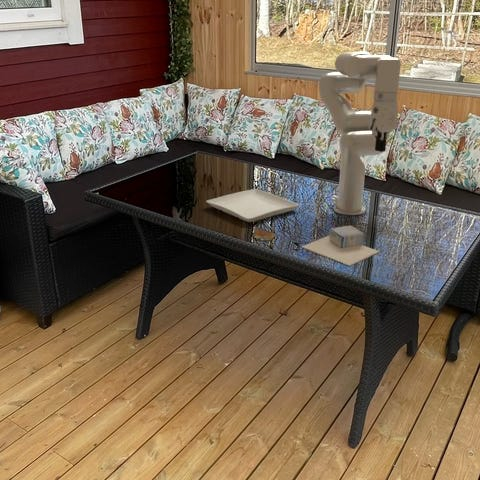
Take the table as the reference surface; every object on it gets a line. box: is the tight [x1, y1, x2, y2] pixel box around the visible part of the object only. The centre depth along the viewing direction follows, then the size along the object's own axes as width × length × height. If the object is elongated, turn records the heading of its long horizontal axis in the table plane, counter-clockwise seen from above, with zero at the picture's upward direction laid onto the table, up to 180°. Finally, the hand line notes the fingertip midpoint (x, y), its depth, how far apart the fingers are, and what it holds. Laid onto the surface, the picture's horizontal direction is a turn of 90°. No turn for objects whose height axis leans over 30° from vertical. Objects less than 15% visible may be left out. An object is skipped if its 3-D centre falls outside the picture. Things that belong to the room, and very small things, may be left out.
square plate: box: [205, 188, 300, 223], centre depth 220 cm, size 27×27×4 cm
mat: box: [301, 234, 380, 267], centre depth 184 cm, size 20×16×1 cm
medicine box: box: [329, 224, 364, 248], centre depth 188 cm, size 8×4×9 cm
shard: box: [253, 225, 277, 241], centre depth 196 cm, size 11×8×2 cm
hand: (380, 150), depth 190 cm, fingers closed
